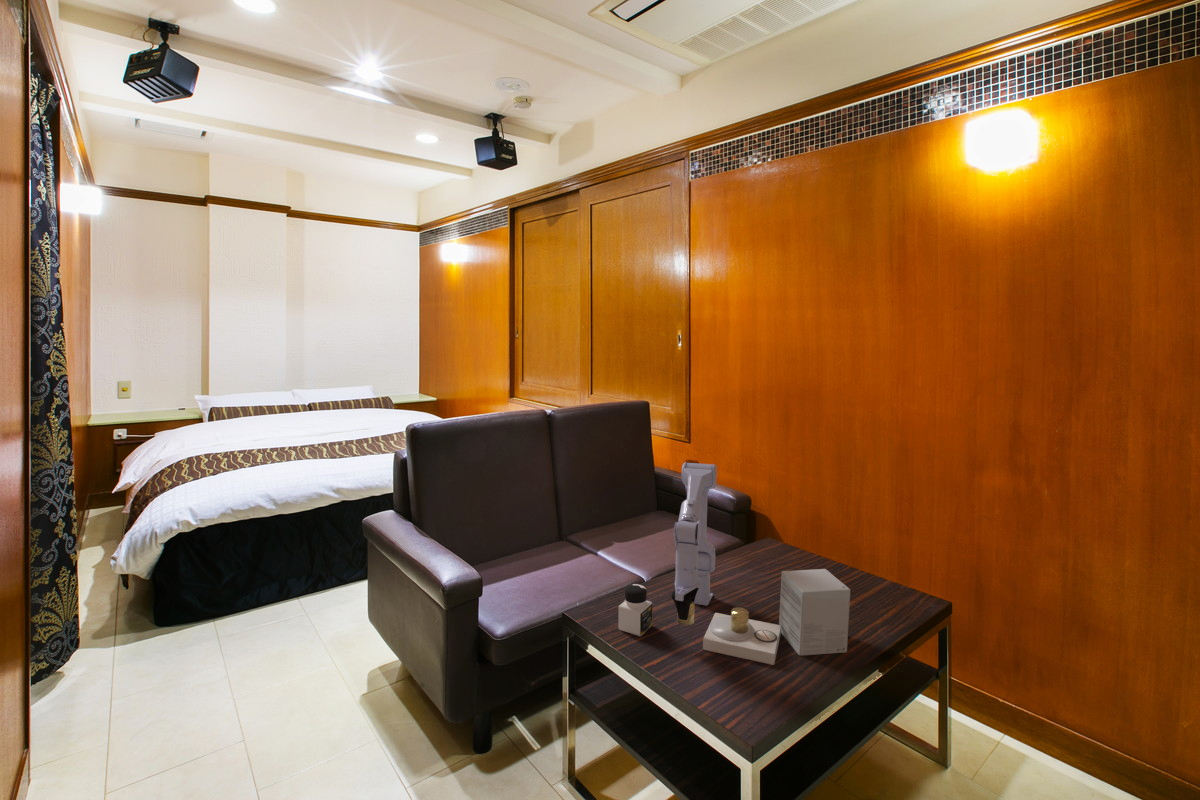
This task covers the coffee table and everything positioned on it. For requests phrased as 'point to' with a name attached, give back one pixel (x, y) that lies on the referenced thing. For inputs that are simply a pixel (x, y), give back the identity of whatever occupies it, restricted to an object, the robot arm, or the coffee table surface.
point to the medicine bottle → (635, 611)
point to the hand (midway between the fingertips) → (685, 614)
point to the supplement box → (814, 611)
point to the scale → (743, 639)
